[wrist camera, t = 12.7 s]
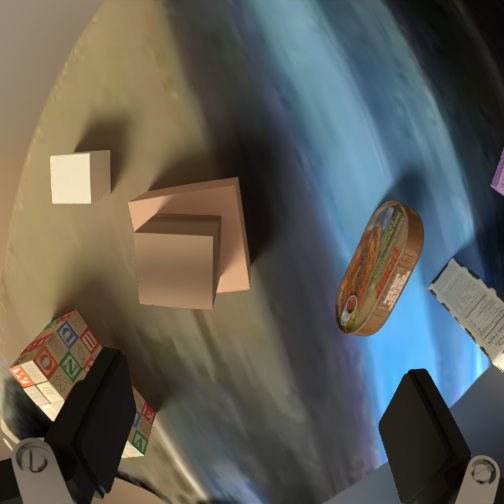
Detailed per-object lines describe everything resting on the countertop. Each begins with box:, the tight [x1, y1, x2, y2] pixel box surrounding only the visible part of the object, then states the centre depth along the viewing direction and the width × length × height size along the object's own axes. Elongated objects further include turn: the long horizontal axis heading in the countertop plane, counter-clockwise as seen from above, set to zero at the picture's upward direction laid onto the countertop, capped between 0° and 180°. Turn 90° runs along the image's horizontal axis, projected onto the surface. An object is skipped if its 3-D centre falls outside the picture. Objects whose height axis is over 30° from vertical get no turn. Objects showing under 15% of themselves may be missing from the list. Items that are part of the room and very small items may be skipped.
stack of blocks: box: [9, 309, 156, 458], centre depth 37 cm, size 21×6×12 cm, turn 25°
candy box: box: [428, 257, 504, 373], centre depth 30 cm, size 14×6×16 cm, turn 55°
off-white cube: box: [50, 150, 111, 203], centre depth 30 cm, size 5×5×5 cm
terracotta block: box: [128, 177, 251, 293], centre depth 32 cm, size 10×10×6 cm
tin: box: [335, 200, 424, 336], centre depth 32 cm, size 15×3×8 cm, turn 161°
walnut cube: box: [133, 213, 221, 310], centre depth 27 cm, size 6×6×6 cm
